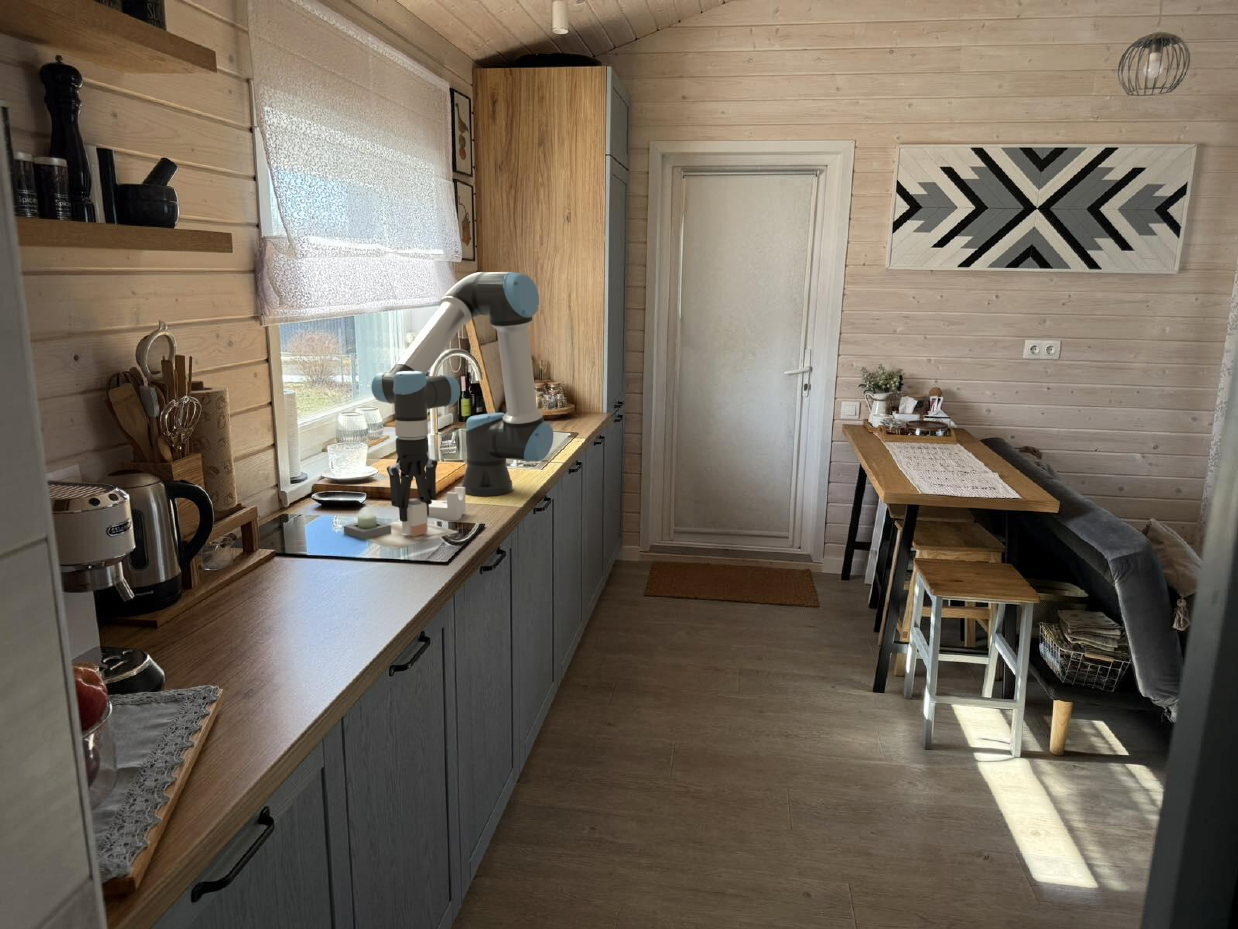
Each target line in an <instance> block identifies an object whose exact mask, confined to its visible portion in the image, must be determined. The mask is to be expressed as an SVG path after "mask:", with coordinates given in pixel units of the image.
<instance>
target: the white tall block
mask: <svg viewBox="0 0 1238 929" xmlns="http://www.w3.org/2000/svg"><path fill="white" fill-rule="evenodd" d="M408 508H411V523H412V535H410V536H417V535H421V534H425V533H427V523H428V518H427V519H426V503H424V502H420V499H419V498H409V504H408Z"/></svg>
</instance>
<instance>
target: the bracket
mask: <svg viewBox="0 0 1238 929" xmlns="http://www.w3.org/2000/svg"><path fill="white" fill-rule="evenodd" d="M431 501H432V503H431V504H429V516H428V517H430V518H434V519H438V520H442V521H456V522H457V521H459V520H460V519H461V518H462V517H463V516H462V515H463V514H464V513H465V512H466V510H467V507H466V493H465V487H462V486H455V487H454V491H453V492H450V491H447V492H446V500H436V499H435V500H431Z"/></svg>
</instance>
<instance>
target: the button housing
mask: <svg viewBox="0 0 1238 929" xmlns="http://www.w3.org/2000/svg"><path fill="white" fill-rule="evenodd" d="M389 533H391V525H389V523H385V522H382V521H378V520H377V527H373V528H369V529H362V528H358V522H353V523H350V524H346V525H343V534H344V535H346V536H350V537H353V538H356V539H359V540H364V541H367V540H366V539H370V538H374V537H377V536H381V535H385V534H389Z"/></svg>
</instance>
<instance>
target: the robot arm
mask: <svg viewBox="0 0 1238 929" xmlns="http://www.w3.org/2000/svg"><path fill="white" fill-rule="evenodd" d="M539 304H540V295H539V291H538V287H537V285H536V283H535V281H534V280H533V279H532V278H531V277H530V276H529V275H528V274H525V273H521V272H514V271H500V272H499V271H498V272H496V271H495V272H485V271H479V272H475V273H472V274H469V275H466V276H465V277H464V278H462V279H461V280H459V281H458V282H457V283H455V284H454V285H453V286H452V287H451V288H450V289H449V290H447V292H446V293H445V294H444V295H443V297H441V299H440V300H439V304H438V306H439V308H438V309H437V310H436V312H435V313H434V314H433V316H432V317H431V318H430V319H429V320H428V322H427V323H426V324H425V326H424V327H423V328H422V330H421V331H420V332H419V334H418V335H417V336H416V337H415V339H414V340H413V341H412V343H411V344H410V345H409V347H408V348H406V351H405V352H404V353H403V354H402V356H401V357H399V359H398V361H397V362H396V363H395V364H394V365H393V367H392V369H391V370H390V371H389V372H387V371H385V372H379V373H377V374H376V375H375V376H374V377H373V379H372V381H371V388H370V389H371V393H372V395H373V397H374V399H376V400H377V401H379V402H382V403H386V404H390V405H393V404H394V427H395V428H394V430H395V431H394V432H395V433H394V434H395V436H396V439H395V452H396V455H397V459H396V461H395V464H393V465H391V466H387V467H386V471H387V474H388V476H389V485H390V486H389V487H390V488H389V489H390V503H391V506H392V507H395V508H398V512H399V513H398V514H399V521H402V533H404V534H407V535H412V523H411V508H408V504H409V499H410V495H411V487H412V481H413V480H415V483H416V489H417V493H418V499H420V502H424V503H426V519H427V520H428V517H430V516H429V504H431V503H432V501H431V500H436V498H437V493H436V492H437V490H436V489H437V488H436V487H437V483H436V482H437V477H436V476H437V475H436V474H437V473H436V472H437V468H438V467H437V466H438V464H439V462H438V460H436V459H431V458H429V455H428V452H429V438H428V437H427V436H429V435H428V434H429V428H428V426H429V425H428V410H430V409H437V408H445V407H448V406H450V405H454V404H455V403H457V401H458V400H459V398H460V395H461V387H460V383H459V382H458V380H457V379H456V378H454V377H453V376H451V375H441V374H440V375H438V376H435V375H434V376H432V375H431V376H430V375H427V374H428V372H429V370H431V368H432V367H433V365H434V364H435V362H437V360H438V359H439V357H440V356H441V354H442V353H443V352H444V351H445V350H446V348H447V346H448V345H449V344H450V343H451V341H452V340H453V338H455V336H456V334H458V332H459V330H460V329H461V328H462V326H465V325H468V324H469V323H470V322H471V321H472V320H473V319H474V318H475V317H478V316H489V324H490V327H493V329H495V330H496V334H497V342H498V343H497V344H498V349H499V356H500V357H499V358H500V365H501V373H502V382H503V390H504V397H505V407H506V412H505V413H504V412H492V413H491V412H490V413H484V414H478V415H477V414H475V415H472V416H469V417H468V418H467V420H466V425H465V426H466V427H465V428H466V429H465V440H466V443H465V444H466V446H465V447H466V467H465V472H464V476H463V480H462V482H461V487H465V495H471V496H481V497H484V496H485V497H492V496H493V497H494V496H501V495H505V494H508V493H511V492H512V491H513V482H512V479H511V475H510V472H509V469H508V466H507V460H512V461H513V460H515V461H521V462H526V463H531V462H534V463H539V462H542V461H543V460H544V459H546V457H547V456H548V455H549V453H550V452H551V449H552V447H553V443H554V429H553V427H552V426H553V425H552V424H551V423H548V422H547V421H544V414H543V412H542V411H541V410H540V409H539V408H537V398H536V386H535V380H534V378H535V377H534V370H533V360H532V352H531V346H530V345H531V344H530V335H529V326H530V325H531V324H532V322H533V320H534V319H533V317H534V316H535V314H537V312H538V311H539V310H538V309H539V307H538V306H539ZM427 530H428V527H427Z"/></svg>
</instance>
